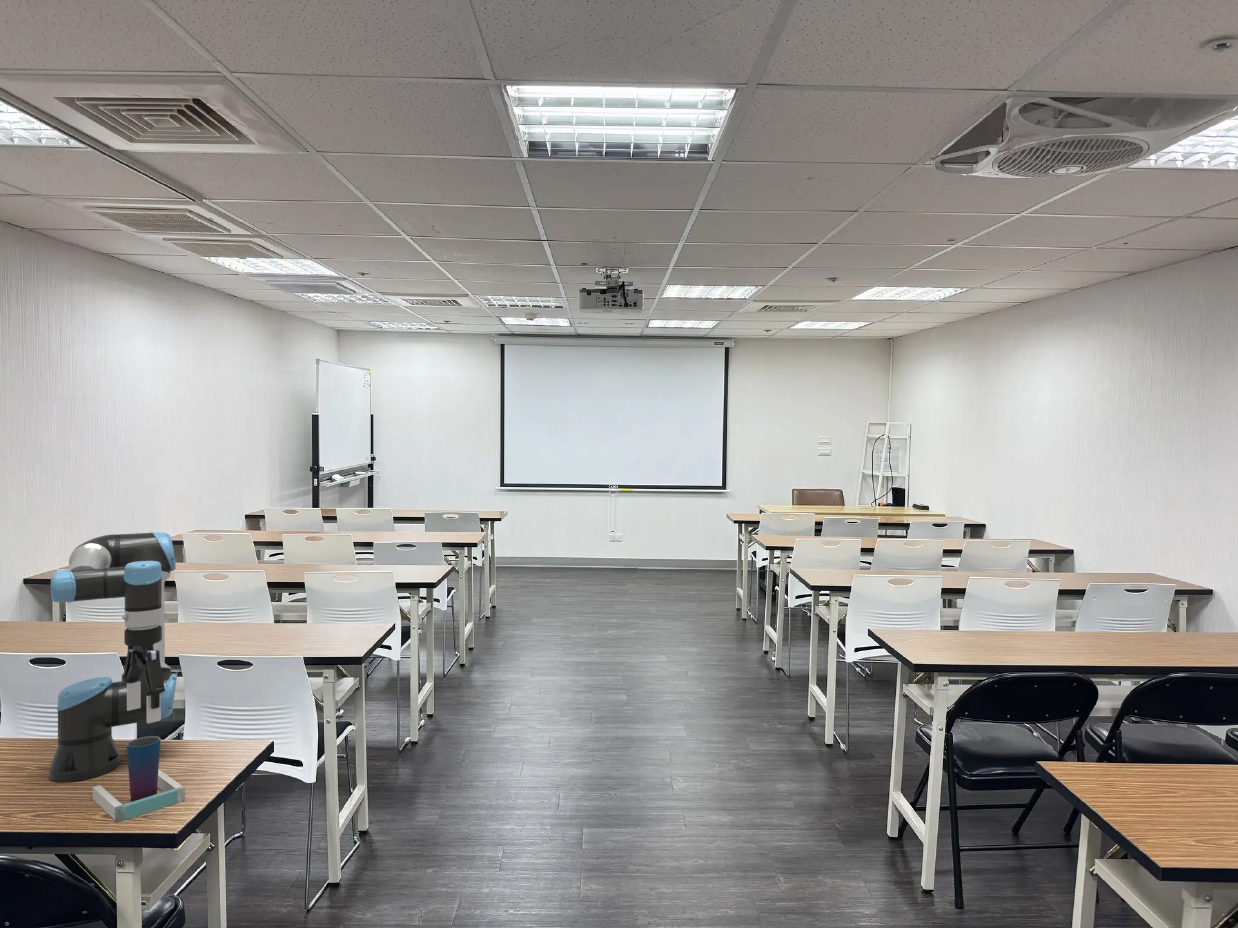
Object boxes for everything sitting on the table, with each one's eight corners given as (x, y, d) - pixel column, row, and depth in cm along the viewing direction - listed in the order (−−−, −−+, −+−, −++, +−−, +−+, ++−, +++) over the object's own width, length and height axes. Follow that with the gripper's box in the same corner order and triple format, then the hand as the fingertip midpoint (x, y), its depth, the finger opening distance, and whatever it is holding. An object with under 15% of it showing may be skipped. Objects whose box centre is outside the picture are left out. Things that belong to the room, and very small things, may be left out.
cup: (143, 811, 170) (143, 747, 170) (119, 809, 171) (119, 745, 171) (167, 798, 177) (167, 736, 177) (143, 796, 178) (143, 734, 178)
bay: (92, 799, 176) (92, 786, 176) (157, 779, 187) (157, 768, 187) (117, 822, 165) (117, 808, 165) (184, 800, 176) (184, 787, 176)
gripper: (108, 621, 179) (108, 707, 179) (143, 637, 163) (144, 731, 163) (142, 616, 185) (143, 700, 185) (180, 631, 169) (180, 722, 169)
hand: (143, 715), depth 174 cm, fingers open, 13 cm apart
